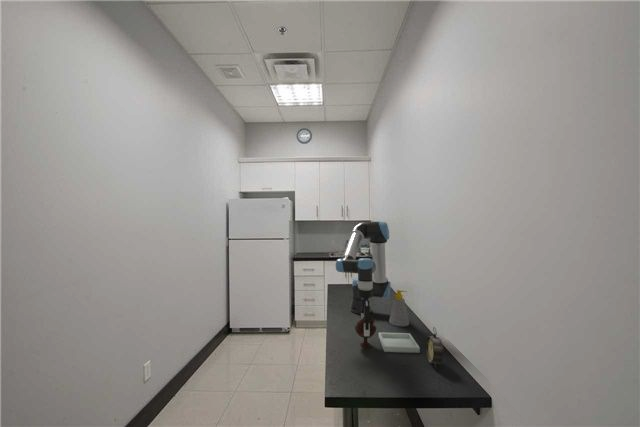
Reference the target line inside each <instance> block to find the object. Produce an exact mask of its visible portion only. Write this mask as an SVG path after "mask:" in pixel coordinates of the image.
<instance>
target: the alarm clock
mask: <svg viewBox="0 0 640 427" xmlns="http://www.w3.org/2000/svg"><path fill="white" fill-rule="evenodd" d="M432 331H433V335H428V336H427V337H426V343H425V344H426V345H425V346H426V347H425V349H426V350H425V351H426V357H427V360H428V362H429V363H430V364H434V368H435V369H434V370H437V369H438V368H437V365H441V364H442V363H443V360H444V357H445V356H444V355H445V353H444V346H443V342H442V340H441V338H440V337H438V336H437V329H436V327H435V326H433V330H432Z"/></svg>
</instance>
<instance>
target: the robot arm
mask: <svg viewBox="0 0 640 427" xmlns="http://www.w3.org/2000/svg"><path fill="white" fill-rule="evenodd" d="M365 239H366V240H369V243H370V244H371V249H372V252H371V253H372V258H370V257H369V258H367V257H365V258H364V257H363V258H359V259H356V258H357V255H358V252H359V250H360V245H361V244H362V243H361V242H362V241H364V240H365ZM388 240H390V229H389V226H388V223H387V222H386V221H362V222H360V223H357V224H356V225H355V226H354V227H353V228H352V229H351V230H350V233H349V240H348V242H347V244H346V247H345V249H344V252H343V254H342V257H341V258H338V259H336V261H335V270H336V271H337V272H338V273H346V274H347V273H348V274H357V277H355V278H354V279H353V280H352V285H351V286H352V287H351V288H352V290H351V292H352V294H351V295H352V296H351V297H352V300H351V301H350V302H351V303H350V306H349V311H350V312H351V313H354V314H356V315H357V314H358V315H360V320H361V319H363V317H364V321H363V323H364V336H370V316H371V315H370V314H371V313H372V306H371V303H370V299H369V298H378V299H388V298H389V297H390V291H391V281H390V280H389V278H388V277H387V275H386V274H387V272H386V270H387V267H386V243H387V242H388Z"/></svg>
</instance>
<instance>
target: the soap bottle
mask: <svg viewBox="0 0 640 427" xmlns="http://www.w3.org/2000/svg"><path fill="white" fill-rule="evenodd" d="M402 293H408V291H406V290H400V289H396V294H395V295H394V297H393V299H392V305H391V310H390V315H389V320H388V323H389V324H390V325H391V326H395V327H403V328H404V327H408V326H409V325H410V320H409V316H408V311H407V306H406V300H405V298H403V294H402Z"/></svg>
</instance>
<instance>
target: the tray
mask: <svg viewBox="0 0 640 427" xmlns="http://www.w3.org/2000/svg"><path fill="white" fill-rule="evenodd" d="M378 339H380V340H379V342H380V344H381V347H382V349H383V352H384V353H412V354H416V353H417V354H420V351H421V350H420V349H421V348H420V346H419V344H418V343H417V342H416V340H415V339H414V337H413V336H412V334H411V333H410V332H409V333H407V332H378Z"/></svg>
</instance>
